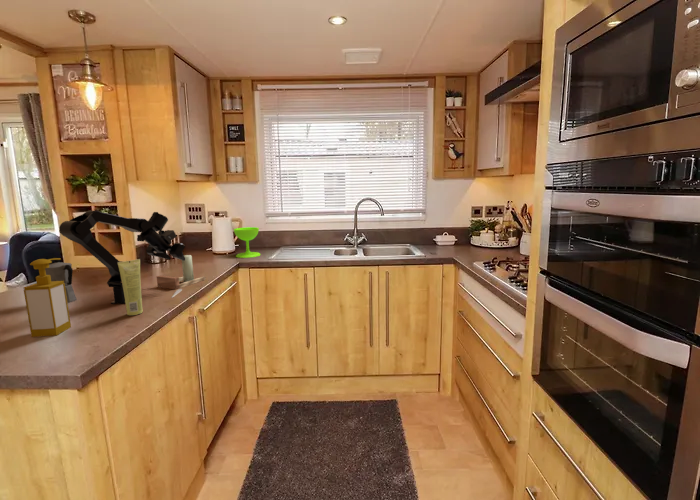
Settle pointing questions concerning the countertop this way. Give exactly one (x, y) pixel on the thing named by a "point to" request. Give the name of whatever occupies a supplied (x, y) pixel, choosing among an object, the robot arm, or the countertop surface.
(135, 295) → the tube
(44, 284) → the soap bottle
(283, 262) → the countertop surface
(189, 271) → the keeper post
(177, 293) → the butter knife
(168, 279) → the brown piece
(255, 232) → the wineglass
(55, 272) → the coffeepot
